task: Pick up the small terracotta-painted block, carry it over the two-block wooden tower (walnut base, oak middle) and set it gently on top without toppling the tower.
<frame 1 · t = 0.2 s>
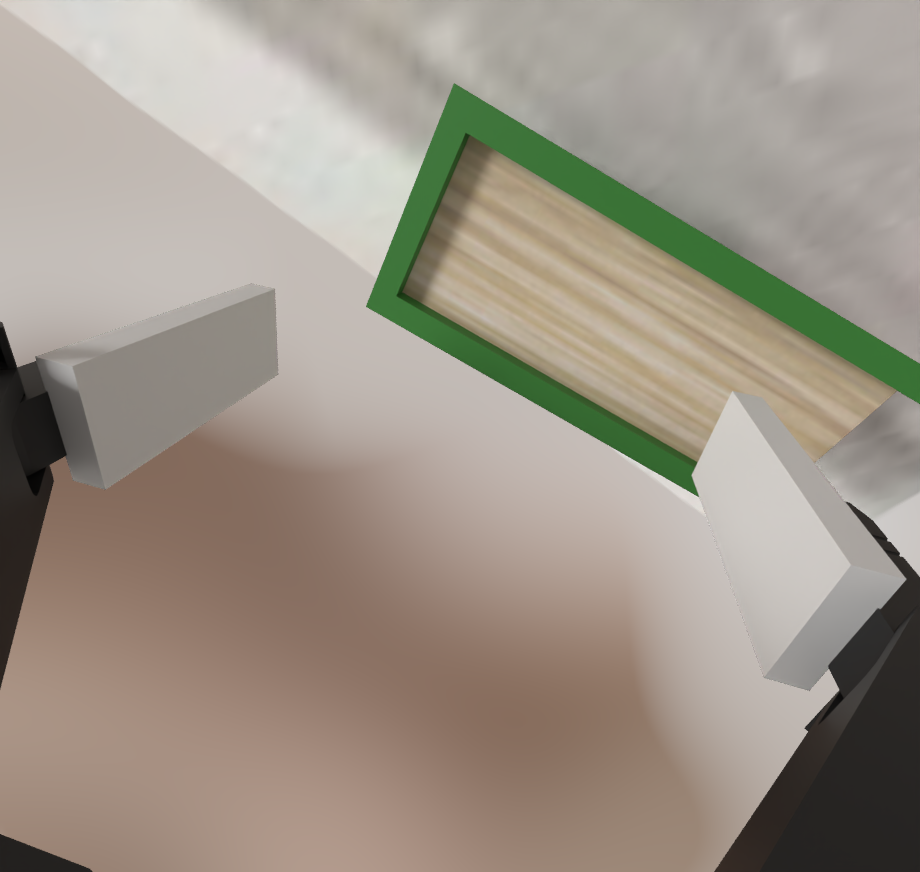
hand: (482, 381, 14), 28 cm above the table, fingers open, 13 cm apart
hardback book: (605, 247, 37), on the table
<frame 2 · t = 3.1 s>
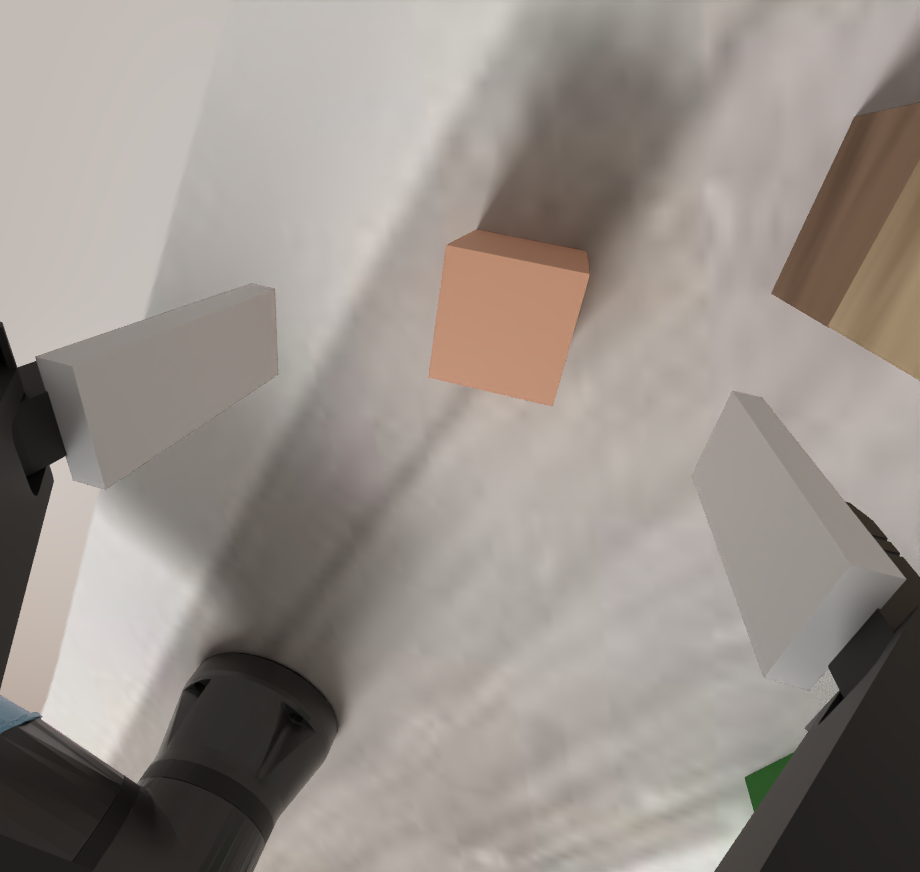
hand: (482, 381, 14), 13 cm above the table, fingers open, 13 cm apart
walnut base block: (894, 227, 21), on the table, touching oak middle block
terracotta block: (519, 296, 25), on the table
hardback book: (879, 751, 35), on the table
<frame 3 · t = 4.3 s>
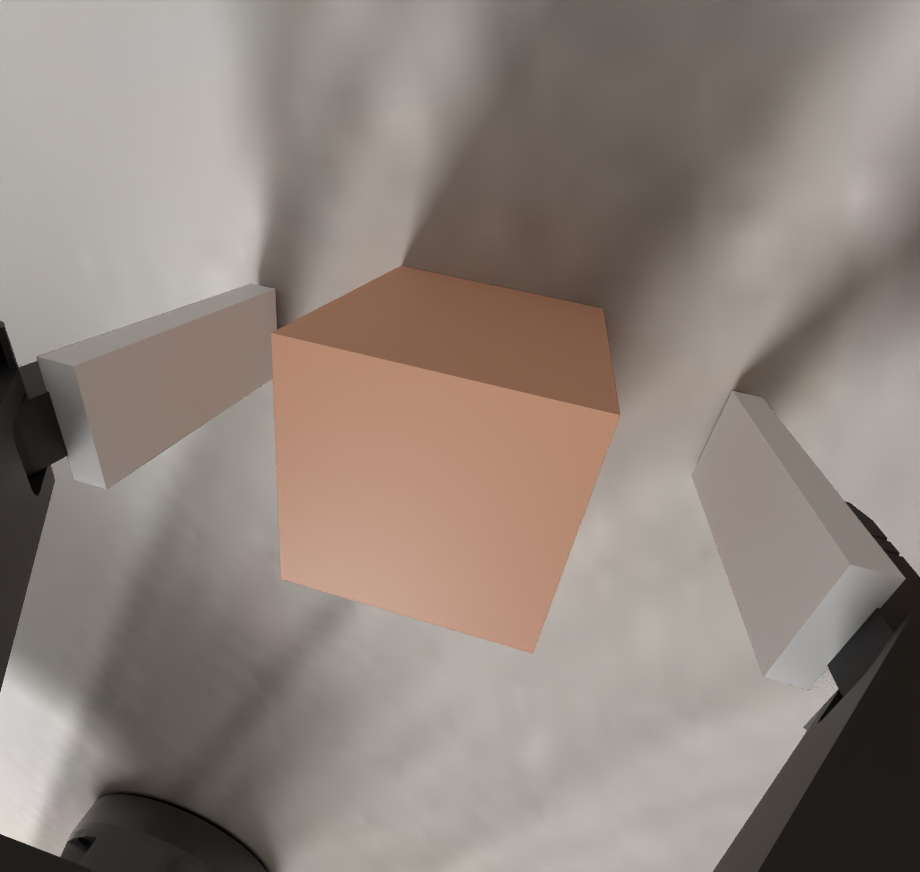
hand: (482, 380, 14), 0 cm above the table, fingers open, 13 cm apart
terracotta block: (481, 380, 14), on the table
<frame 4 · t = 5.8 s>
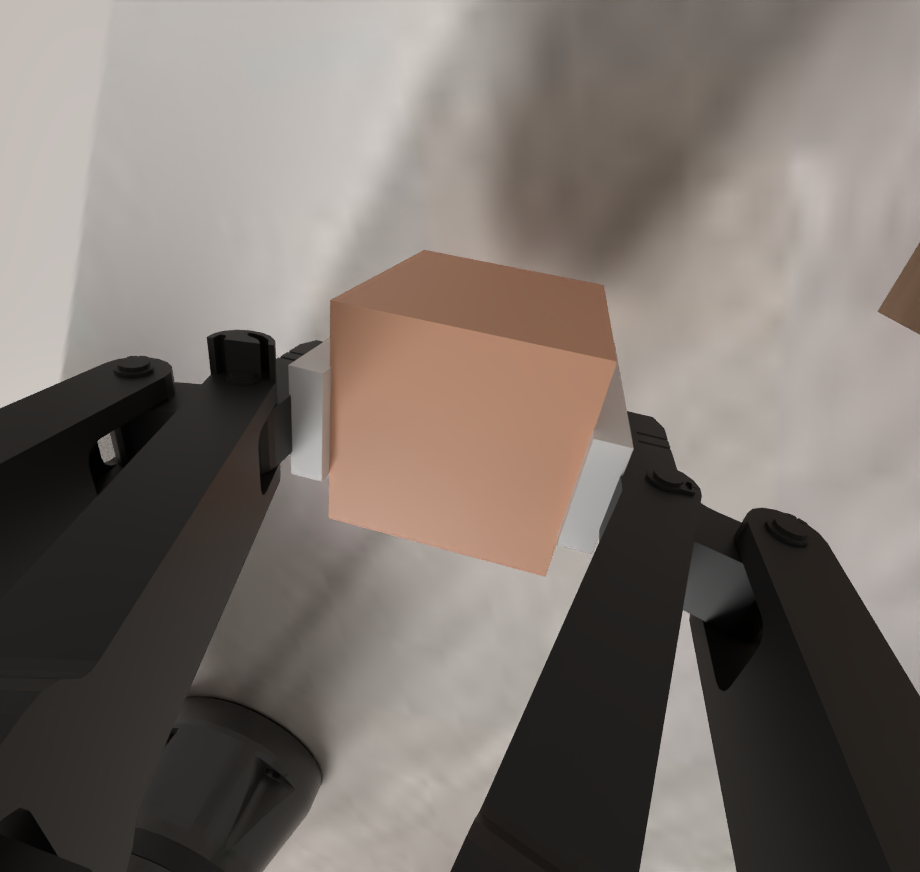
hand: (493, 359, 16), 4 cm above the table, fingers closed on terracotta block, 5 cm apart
terracotta block: (495, 353, 16), point 4 cm above the table, touching gripper
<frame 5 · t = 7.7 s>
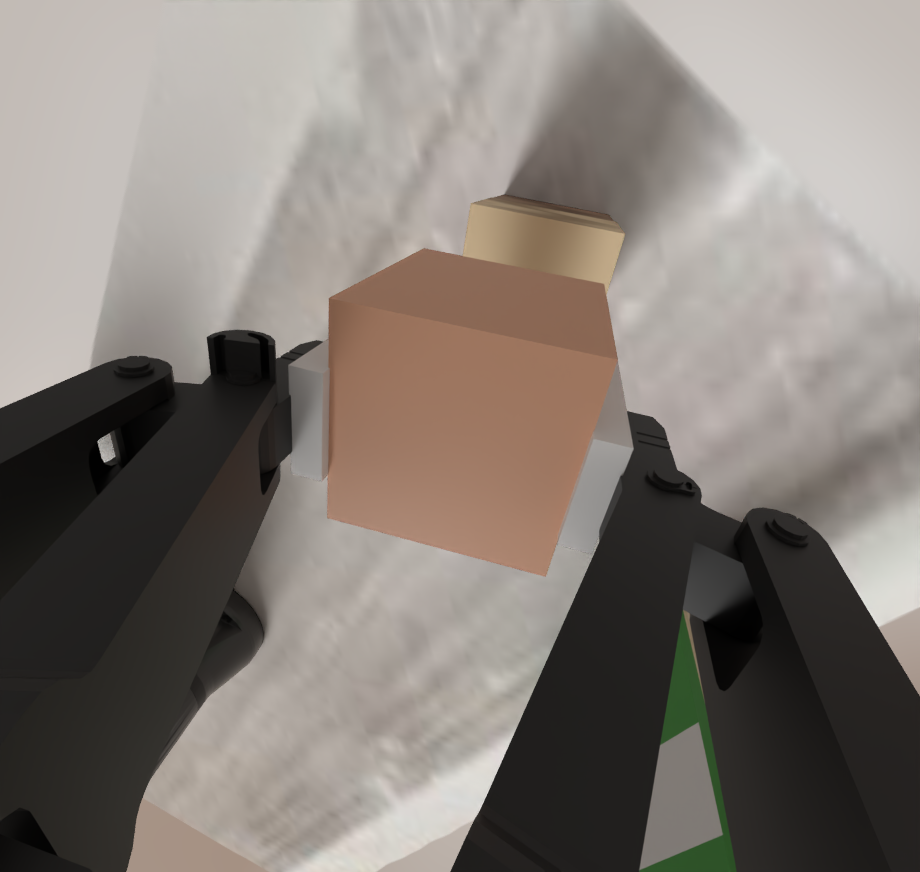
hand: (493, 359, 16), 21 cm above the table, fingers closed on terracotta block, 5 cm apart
walnut base block: (543, 259, 34), on the table, touching oak middle block
terracotta block: (495, 352, 16), point 21 cm above the table, touching gripper
hardback book: (634, 628, 48), on the table
oak middle block: (538, 274, 29), point 6 cm above the table, touching walnut base block
when the fingers open (12 cm above the table, at t = 9.8 s): terracotta block stays where it is, resting on oak middle block.
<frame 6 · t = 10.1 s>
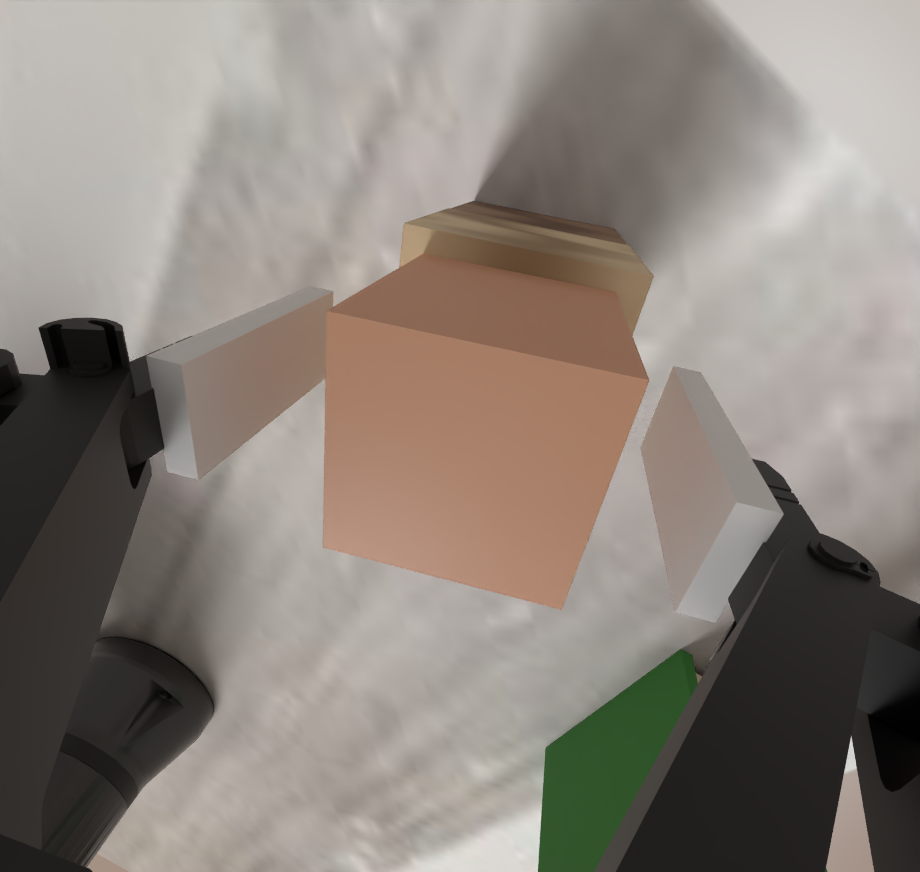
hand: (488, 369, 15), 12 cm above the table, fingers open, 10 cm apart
walnut base block: (526, 286, 25), on the table, touching oak middle block
terracotta block: (498, 363, 15), point 12 cm above the table, touching oak middle block
hardback book: (643, 723, 40), on the table
oak middle block: (516, 316, 20), point 6 cm above the table, touching terracotta block, walnut base block
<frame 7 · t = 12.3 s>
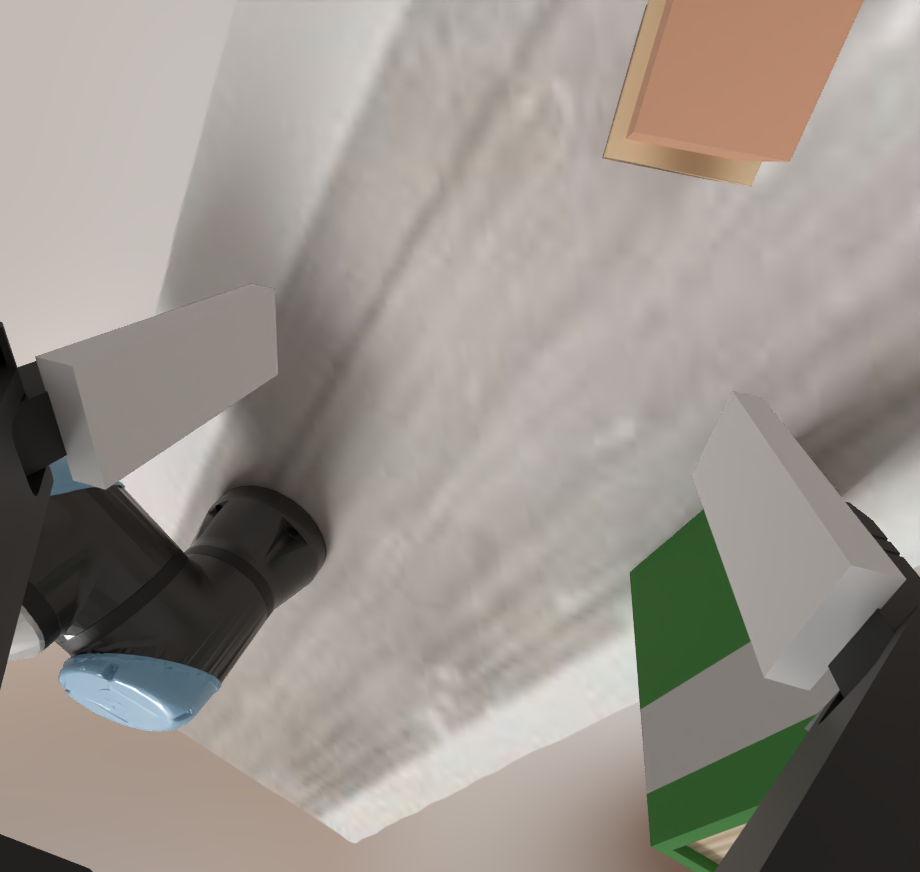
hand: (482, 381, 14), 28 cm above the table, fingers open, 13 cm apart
walnut base block: (672, 108, 32), on the table, touching oak middle block
terracotta block: (708, 79, 22), point 12 cm above the table, touching oak middle block
hardback book: (722, 539, 46), on the table
oak middle block: (687, 97, 27), point 6 cm above the table, touching terracotta block, walnut base block
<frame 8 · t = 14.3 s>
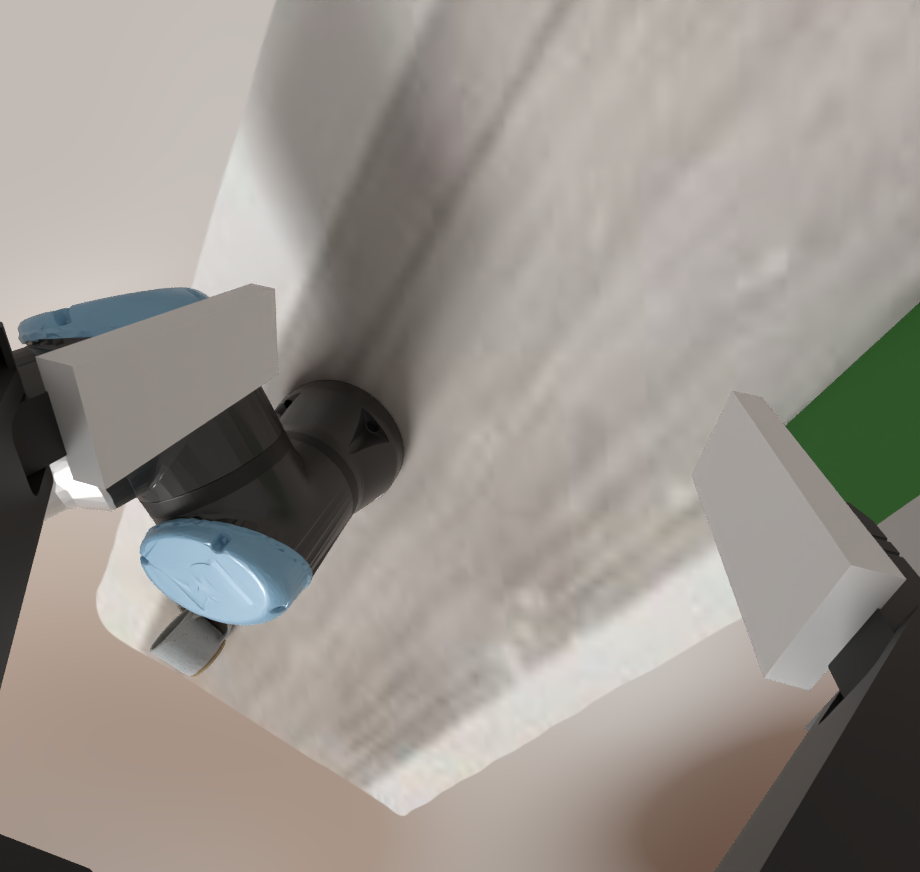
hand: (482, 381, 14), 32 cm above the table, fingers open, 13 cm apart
ceramic mug: (210, 619, 79), on the table
hardback book: (874, 396, 42), on the table
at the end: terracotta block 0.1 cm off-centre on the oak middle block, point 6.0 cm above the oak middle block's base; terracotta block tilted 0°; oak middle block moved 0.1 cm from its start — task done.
